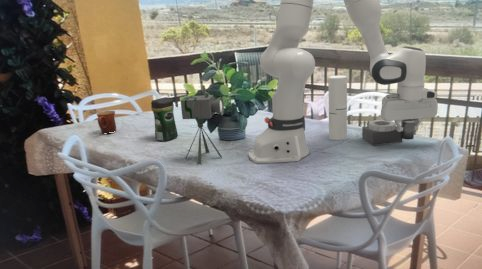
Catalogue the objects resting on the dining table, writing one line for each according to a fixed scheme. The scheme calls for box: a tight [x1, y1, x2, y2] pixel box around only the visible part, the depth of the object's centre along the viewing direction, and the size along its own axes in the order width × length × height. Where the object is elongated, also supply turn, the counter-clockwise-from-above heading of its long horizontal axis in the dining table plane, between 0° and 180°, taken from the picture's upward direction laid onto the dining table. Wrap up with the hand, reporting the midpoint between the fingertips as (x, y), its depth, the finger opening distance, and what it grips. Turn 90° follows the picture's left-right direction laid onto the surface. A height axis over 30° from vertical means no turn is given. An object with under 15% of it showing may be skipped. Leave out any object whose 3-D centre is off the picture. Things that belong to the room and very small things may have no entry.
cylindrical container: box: [327, 74, 348, 141], centre depth 162 cm, size 7×7×25 cm
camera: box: [180, 91, 225, 165], centre depth 149 cm, size 16×16×25 cm
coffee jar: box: [150, 97, 179, 142], centre depth 179 cm, size 10×8×19 cm
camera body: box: [361, 119, 403, 146], centre depth 157 cm, size 12×10×7 cm
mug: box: [96, 110, 117, 134], centre depth 196 cm, size 12×9×10 cm
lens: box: [400, 119, 416, 141], centre depth 147 cm, size 5×5×7 cm
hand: (407, 130), depth 147 cm, fingers closed on lens, 4 cm apart
